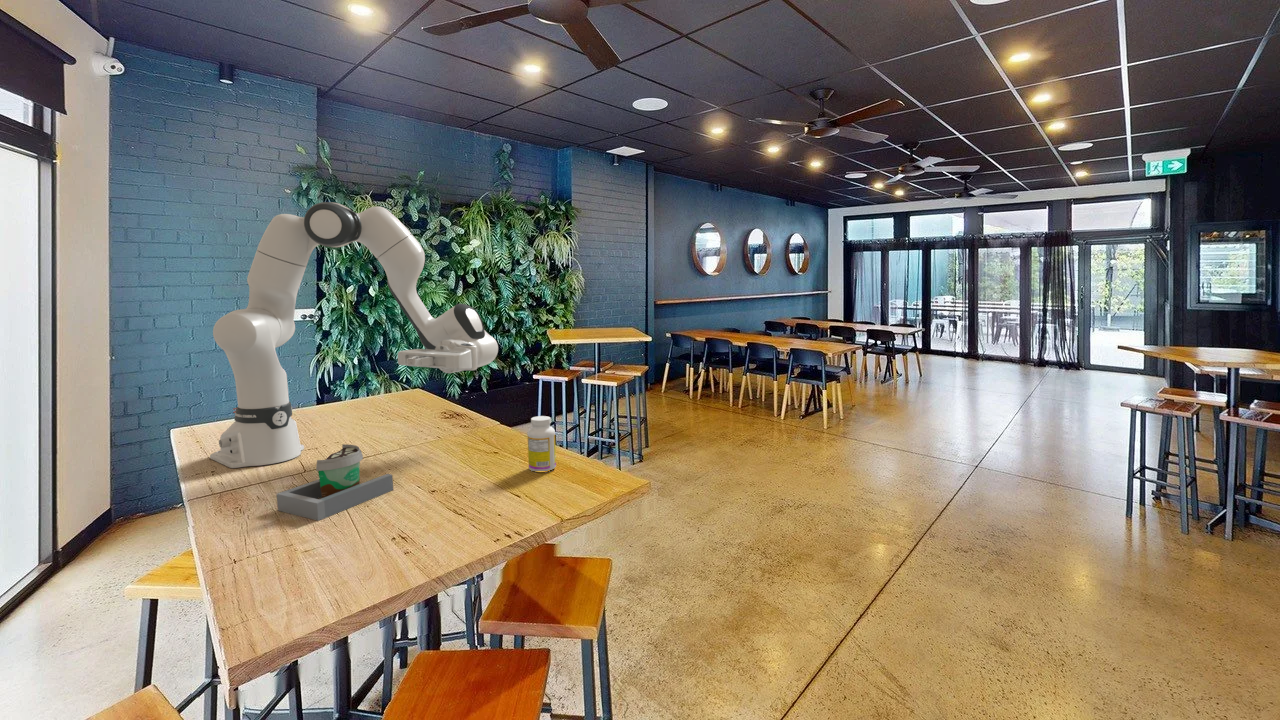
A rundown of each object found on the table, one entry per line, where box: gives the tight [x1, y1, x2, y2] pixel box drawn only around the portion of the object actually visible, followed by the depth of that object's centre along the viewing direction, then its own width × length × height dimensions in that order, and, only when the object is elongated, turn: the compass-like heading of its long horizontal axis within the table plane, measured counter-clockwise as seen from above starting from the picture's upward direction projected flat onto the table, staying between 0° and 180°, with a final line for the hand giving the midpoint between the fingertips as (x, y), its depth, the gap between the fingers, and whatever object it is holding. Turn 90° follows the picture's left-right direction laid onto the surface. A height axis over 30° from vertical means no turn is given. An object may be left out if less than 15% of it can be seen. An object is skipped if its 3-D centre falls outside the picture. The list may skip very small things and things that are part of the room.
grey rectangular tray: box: [276, 473, 394, 522], centre depth 121 cm, size 12×18×4 cm, turn 156°
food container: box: [315, 443, 364, 498], centre depth 123 cm, size 12×6×10 cm, turn 3°
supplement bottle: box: [527, 415, 557, 472], centre depth 140 cm, size 7×7×13 cm
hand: (410, 362), depth 140 cm, fingers closed
